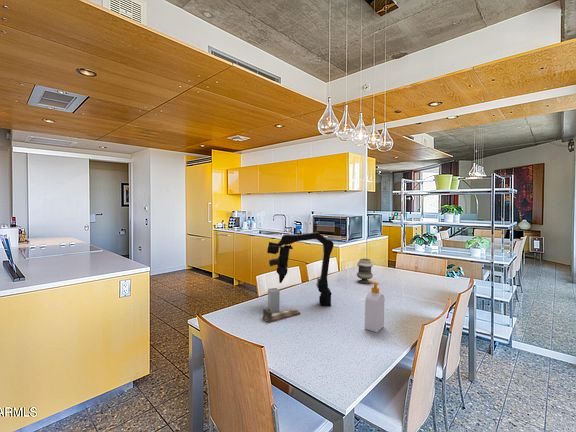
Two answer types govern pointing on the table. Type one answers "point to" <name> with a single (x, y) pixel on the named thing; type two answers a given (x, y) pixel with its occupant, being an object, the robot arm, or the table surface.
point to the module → (273, 300)
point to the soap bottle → (374, 309)
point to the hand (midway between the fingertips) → (280, 280)
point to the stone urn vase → (364, 270)
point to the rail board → (279, 314)
